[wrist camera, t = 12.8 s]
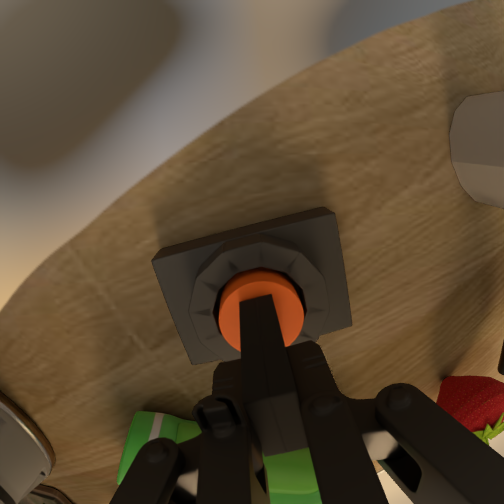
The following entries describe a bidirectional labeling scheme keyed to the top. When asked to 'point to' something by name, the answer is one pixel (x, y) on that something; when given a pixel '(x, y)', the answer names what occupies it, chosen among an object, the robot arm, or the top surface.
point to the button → (256, 286)
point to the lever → (501, 361)
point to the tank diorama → (44, 496)
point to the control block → (250, 257)
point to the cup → (480, 147)
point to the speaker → (278, 466)
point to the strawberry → (474, 403)
